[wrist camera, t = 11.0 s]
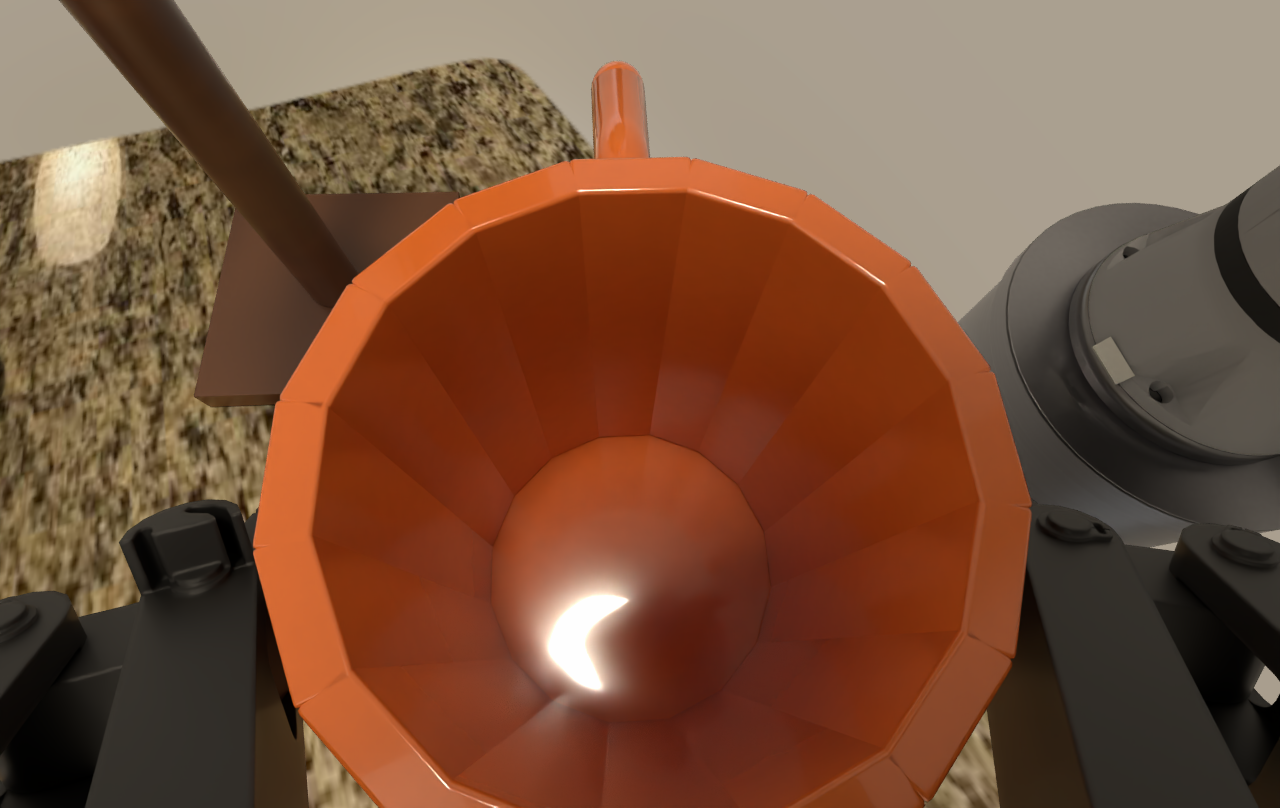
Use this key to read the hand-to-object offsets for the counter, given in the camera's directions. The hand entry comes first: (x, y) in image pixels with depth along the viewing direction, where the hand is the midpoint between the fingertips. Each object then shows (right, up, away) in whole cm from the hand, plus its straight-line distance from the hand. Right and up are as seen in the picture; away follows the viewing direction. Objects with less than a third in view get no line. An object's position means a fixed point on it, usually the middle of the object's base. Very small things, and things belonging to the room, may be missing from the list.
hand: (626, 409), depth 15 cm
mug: (0, -3, +3) cm, 4 cm away
